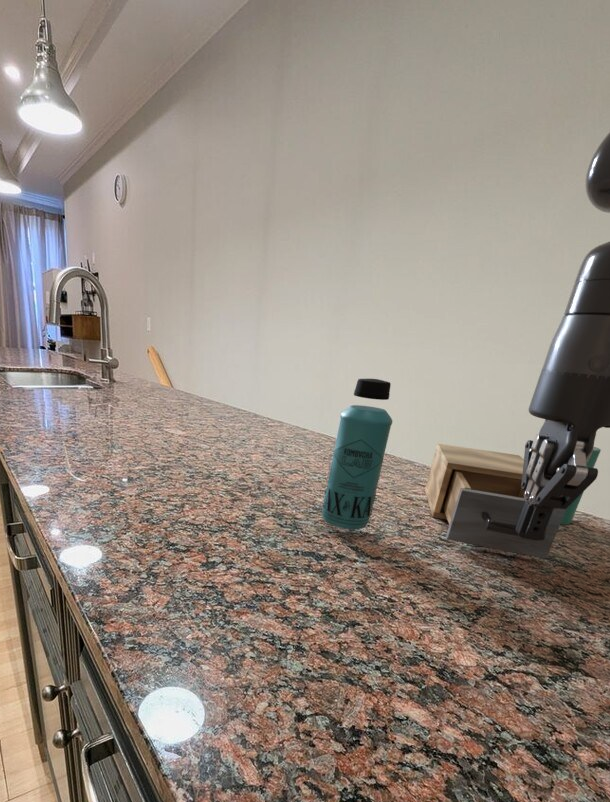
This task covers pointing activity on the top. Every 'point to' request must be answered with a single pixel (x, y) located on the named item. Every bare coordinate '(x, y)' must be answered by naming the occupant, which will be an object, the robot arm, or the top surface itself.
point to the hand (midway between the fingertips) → (527, 536)
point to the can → (572, 508)
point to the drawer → (492, 514)
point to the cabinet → (465, 461)
